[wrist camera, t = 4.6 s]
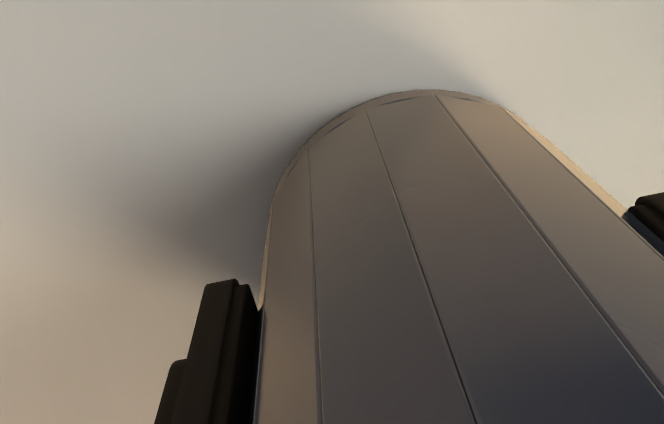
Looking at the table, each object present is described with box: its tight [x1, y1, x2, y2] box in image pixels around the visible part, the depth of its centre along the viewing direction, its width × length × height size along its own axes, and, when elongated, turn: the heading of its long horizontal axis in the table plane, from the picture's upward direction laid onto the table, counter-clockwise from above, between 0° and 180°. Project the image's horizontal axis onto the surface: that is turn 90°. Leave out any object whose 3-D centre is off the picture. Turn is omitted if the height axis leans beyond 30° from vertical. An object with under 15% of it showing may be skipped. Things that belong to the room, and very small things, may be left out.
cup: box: [247, 90, 664, 424], centre depth 9 cm, size 7×7×10 cm
